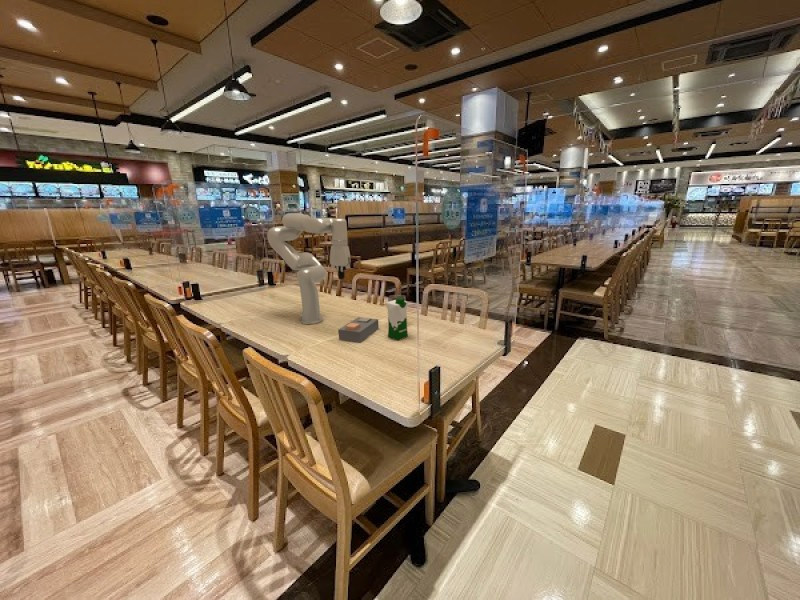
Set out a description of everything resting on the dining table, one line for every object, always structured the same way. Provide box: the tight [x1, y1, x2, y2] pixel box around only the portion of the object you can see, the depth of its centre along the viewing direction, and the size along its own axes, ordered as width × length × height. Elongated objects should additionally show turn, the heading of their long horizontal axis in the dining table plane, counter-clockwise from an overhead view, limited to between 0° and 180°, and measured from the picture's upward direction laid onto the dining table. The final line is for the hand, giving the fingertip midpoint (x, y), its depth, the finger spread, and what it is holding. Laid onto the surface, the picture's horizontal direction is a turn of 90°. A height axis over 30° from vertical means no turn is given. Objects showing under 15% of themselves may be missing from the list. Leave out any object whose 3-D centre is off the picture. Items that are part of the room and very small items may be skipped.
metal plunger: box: [358, 317, 372, 323], centre depth 168 cm, size 5×5×5 cm
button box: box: [337, 316, 380, 344], centre depth 163 cm, size 12×20×6 cm, turn 158°
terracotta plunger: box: [346, 322, 360, 331], centre depth 157 cm, size 5×5×5 cm
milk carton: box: [385, 298, 409, 341], centre depth 156 cm, size 9×9×20 cm
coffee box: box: [387, 294, 407, 302], centre depth 174 cm, size 9×6×16 cm
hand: (341, 278), depth 168 cm, fingers closed
